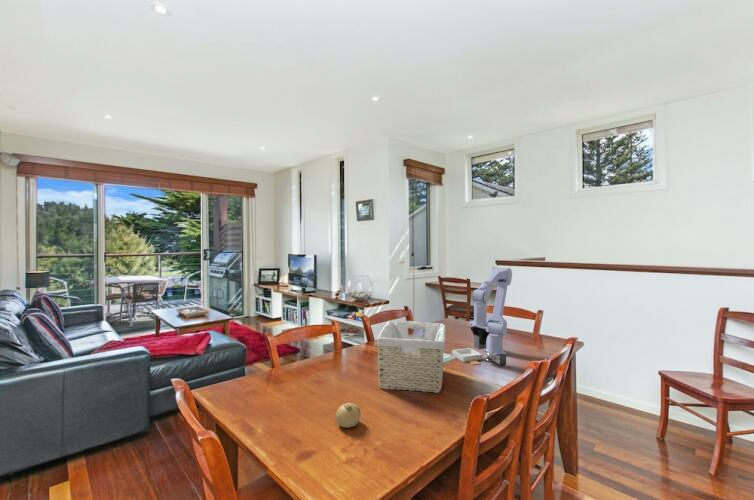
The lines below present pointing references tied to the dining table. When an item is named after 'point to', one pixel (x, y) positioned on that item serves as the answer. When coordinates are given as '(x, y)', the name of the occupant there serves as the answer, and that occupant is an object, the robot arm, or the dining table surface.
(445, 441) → the dining table surface
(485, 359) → the crank foot
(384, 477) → the dining table surface
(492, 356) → the crank
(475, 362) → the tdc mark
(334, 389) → the dining table surface
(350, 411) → the onion
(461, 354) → the tray
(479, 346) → the stop block
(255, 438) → the dining table surface
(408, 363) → the basket
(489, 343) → the robot arm
